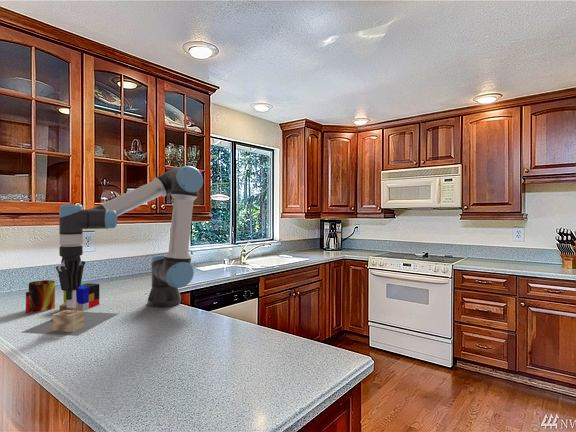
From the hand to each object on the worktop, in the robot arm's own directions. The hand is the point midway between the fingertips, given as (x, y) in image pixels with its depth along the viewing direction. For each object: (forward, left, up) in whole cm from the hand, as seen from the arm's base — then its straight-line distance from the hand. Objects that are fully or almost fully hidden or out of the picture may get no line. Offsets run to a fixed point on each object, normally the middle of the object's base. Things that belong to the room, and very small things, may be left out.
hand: (71, 307), depth 137 cm
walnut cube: (+10, -13, -8) cm, 18 cm away
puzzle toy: (+14, -26, -8) cm, 30 cm away
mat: (+3, -6, -8) cm, 10 cm away
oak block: (0, +1, -2) cm, 2 cm away
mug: (+28, -18, -8) cm, 34 cm away
